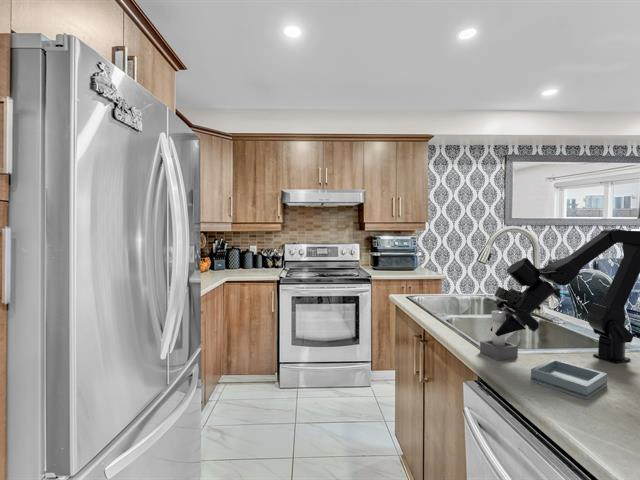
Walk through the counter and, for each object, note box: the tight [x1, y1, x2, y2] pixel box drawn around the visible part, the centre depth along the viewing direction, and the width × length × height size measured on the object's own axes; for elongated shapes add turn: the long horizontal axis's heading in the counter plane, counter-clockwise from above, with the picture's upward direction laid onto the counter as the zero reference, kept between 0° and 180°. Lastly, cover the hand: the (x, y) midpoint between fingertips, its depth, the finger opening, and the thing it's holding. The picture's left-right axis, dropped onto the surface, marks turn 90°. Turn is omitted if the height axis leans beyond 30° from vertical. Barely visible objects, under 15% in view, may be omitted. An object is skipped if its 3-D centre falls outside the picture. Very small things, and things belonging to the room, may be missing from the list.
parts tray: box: [530, 358, 608, 400], centre depth 89 cm, size 12×12×3 cm
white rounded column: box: [491, 310, 506, 347], centre depth 108 cm, size 4×4×13 cm
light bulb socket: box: [479, 339, 519, 361], centre depth 109 cm, size 7×7×4 cm
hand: (493, 333), depth 109 cm, fingers closed on white rounded column, 3 cm apart
